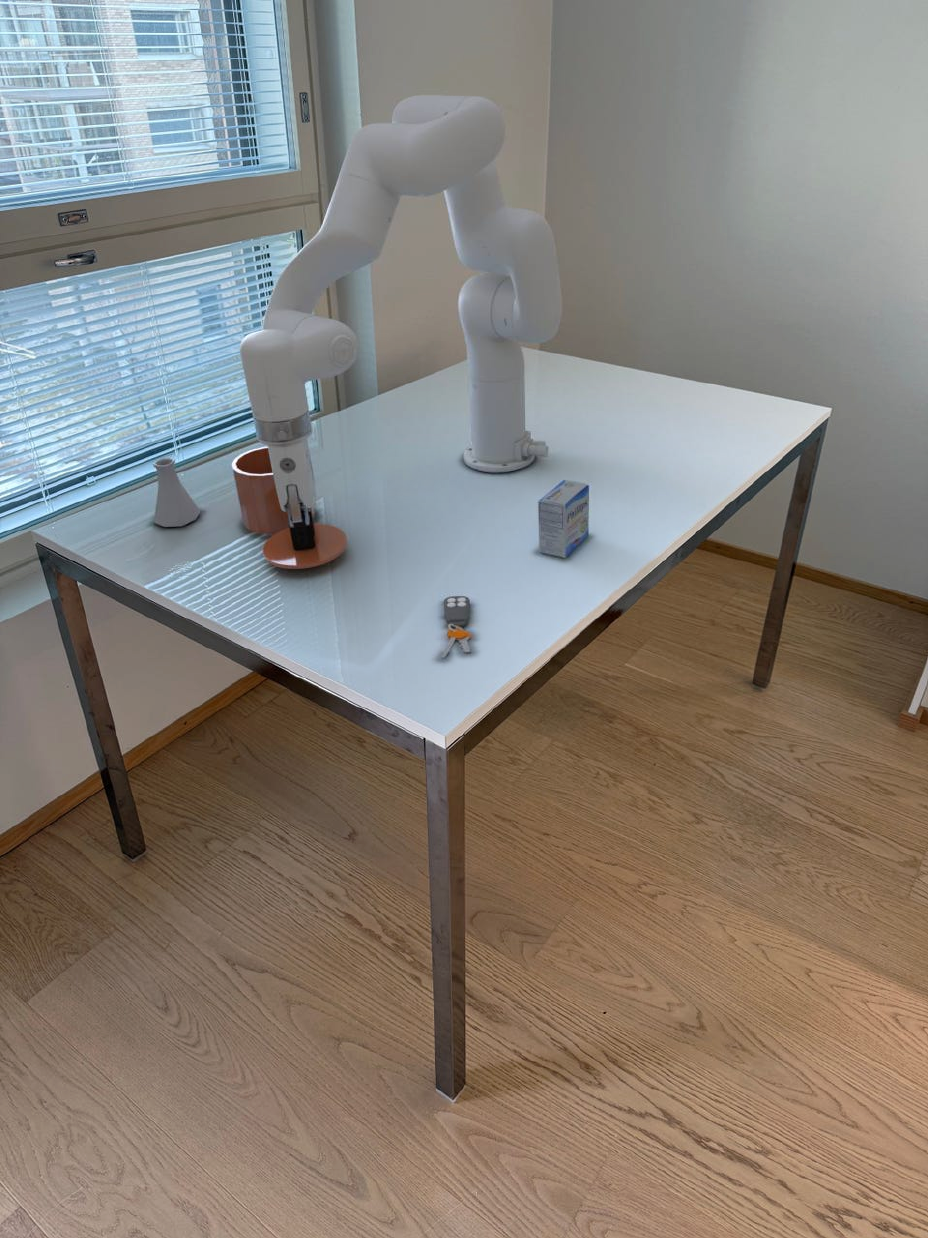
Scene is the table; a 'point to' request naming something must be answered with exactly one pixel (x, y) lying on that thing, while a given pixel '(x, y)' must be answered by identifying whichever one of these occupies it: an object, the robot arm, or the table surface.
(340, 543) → the lid
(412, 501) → the table surface
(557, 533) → the medicine box
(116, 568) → the table surface
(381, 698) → the table surface
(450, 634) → the key chain
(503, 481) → the table surface
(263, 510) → the canister
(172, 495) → the flask
